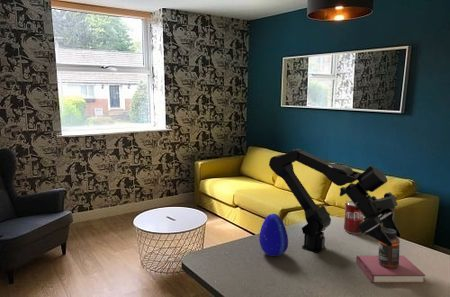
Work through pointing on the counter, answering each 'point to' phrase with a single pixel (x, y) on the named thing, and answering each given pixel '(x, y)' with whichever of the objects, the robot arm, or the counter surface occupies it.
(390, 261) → the supplement bottle
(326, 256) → the counter surface
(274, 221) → the ornament
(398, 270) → the hardcover book
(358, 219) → the soda can
